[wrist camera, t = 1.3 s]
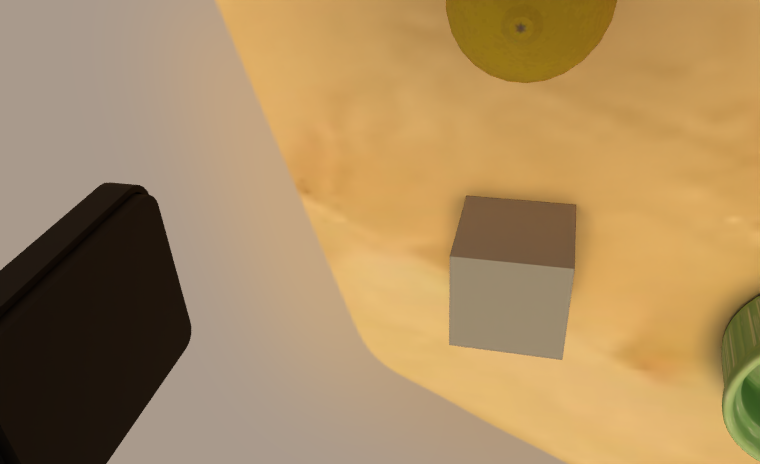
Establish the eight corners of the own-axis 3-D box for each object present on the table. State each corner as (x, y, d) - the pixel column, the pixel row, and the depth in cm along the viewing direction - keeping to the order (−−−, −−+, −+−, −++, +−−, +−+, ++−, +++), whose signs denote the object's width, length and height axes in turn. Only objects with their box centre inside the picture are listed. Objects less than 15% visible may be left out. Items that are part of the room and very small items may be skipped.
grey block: (466, 194, 32) (449, 256, 28) (576, 203, 31) (574, 268, 27) (465, 278, 35) (449, 344, 31) (565, 289, 34) (562, 360, 30)
